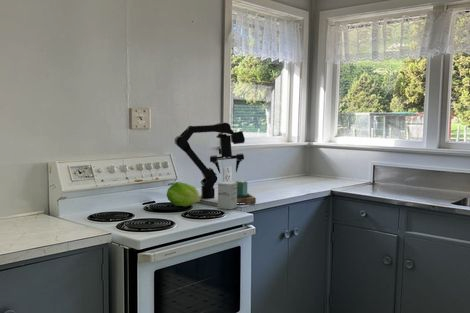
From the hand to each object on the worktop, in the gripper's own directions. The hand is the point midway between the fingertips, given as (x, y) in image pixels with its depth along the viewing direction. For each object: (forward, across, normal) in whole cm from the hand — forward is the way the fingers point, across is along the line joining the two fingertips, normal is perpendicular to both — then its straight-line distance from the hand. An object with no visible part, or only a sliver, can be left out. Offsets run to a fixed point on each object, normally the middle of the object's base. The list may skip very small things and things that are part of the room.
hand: (228, 172), depth 260 cm
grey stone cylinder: (+12, +2, +30) cm, 32 cm away
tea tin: (+12, -6, +16) cm, 21 cm away
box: (+13, -5, +16) cm, 21 cm away
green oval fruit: (+10, +22, +29) cm, 38 cm away
